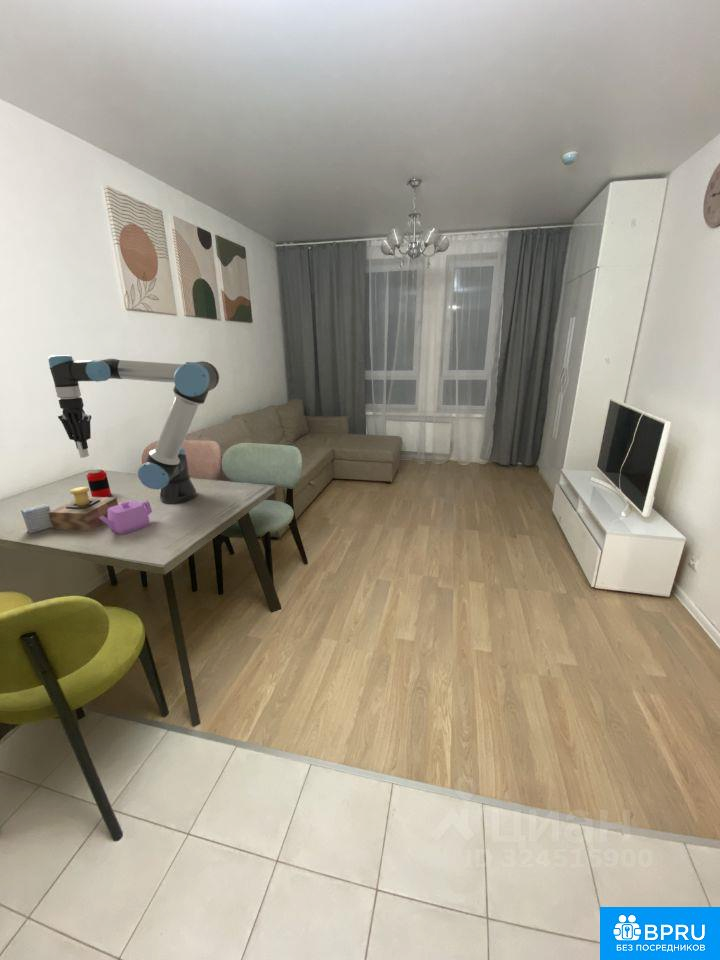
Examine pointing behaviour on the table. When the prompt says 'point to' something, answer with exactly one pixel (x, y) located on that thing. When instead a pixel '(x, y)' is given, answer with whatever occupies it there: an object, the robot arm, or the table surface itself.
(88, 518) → the socket
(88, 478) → the soda can
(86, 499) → the peg
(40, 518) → the medicine box
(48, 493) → the table surface
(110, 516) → the teapot
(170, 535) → the table surface
